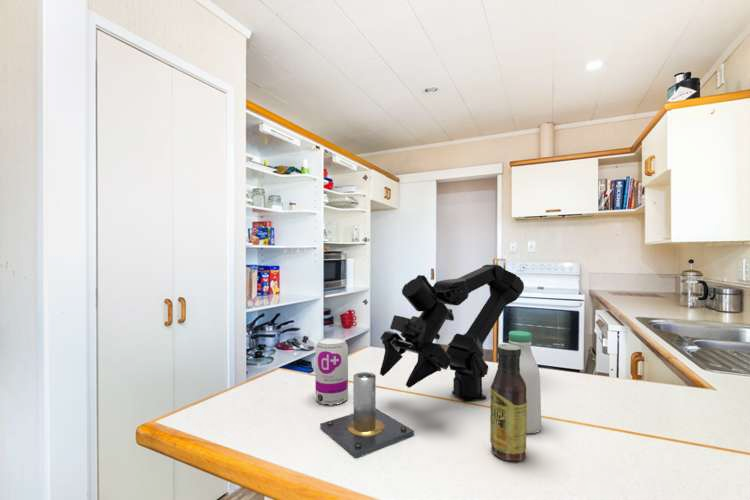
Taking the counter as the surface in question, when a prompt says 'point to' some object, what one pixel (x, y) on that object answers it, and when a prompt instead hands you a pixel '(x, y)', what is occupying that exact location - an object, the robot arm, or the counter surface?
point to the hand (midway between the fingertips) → (393, 380)
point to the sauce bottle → (508, 406)
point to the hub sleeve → (364, 402)
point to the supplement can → (331, 370)
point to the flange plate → (366, 434)
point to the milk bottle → (529, 378)
